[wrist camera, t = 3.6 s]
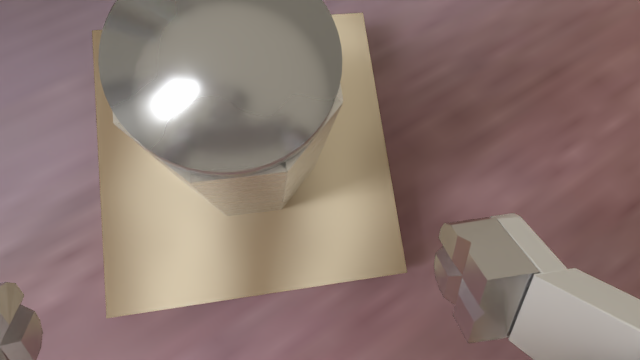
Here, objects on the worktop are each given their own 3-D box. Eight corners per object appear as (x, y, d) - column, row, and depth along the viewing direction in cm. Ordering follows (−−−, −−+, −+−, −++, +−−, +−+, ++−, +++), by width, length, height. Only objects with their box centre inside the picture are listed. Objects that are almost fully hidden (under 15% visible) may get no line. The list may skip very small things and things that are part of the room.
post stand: (124, 311, 18) (21, 349, 11) (109, 52, 20) (14, -67, 13) (393, 271, 19) (466, 278, 12) (354, 35, 21) (396, -81, 14)
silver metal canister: (187, 221, 17) (104, 185, 9) (177, 96, 18) (92, -46, 10) (318, 204, 18) (358, 157, 9) (302, 84, 19) (325, -56, 10)
